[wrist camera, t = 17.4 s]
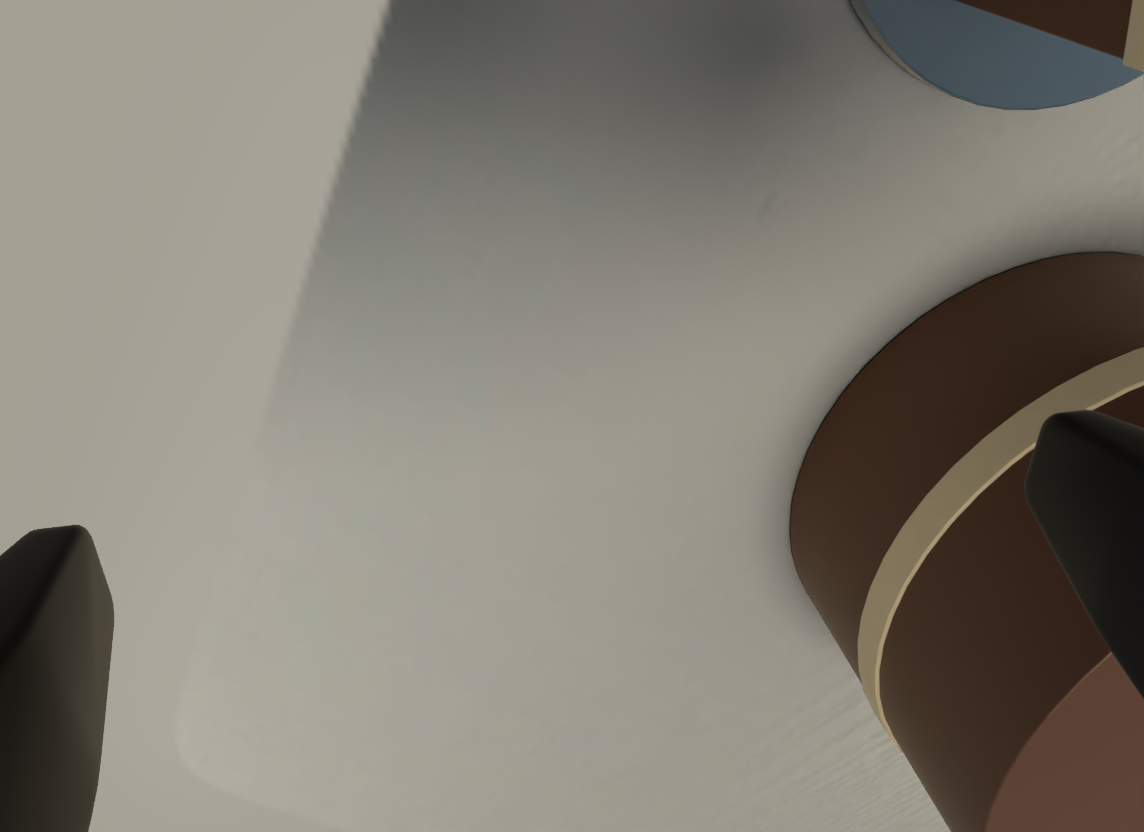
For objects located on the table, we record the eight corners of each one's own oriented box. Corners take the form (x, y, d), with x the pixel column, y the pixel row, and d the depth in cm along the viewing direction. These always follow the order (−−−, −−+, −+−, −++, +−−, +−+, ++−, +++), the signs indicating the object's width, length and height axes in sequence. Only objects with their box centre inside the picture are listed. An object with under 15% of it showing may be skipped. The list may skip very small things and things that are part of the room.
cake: (760, 678, 32) (917, 994, 23) (823, 273, 24) (1089, 533, 16) (1145, 611, 34) (1407, 875, 26) (1314, 226, 26) (1763, 428, 18)
